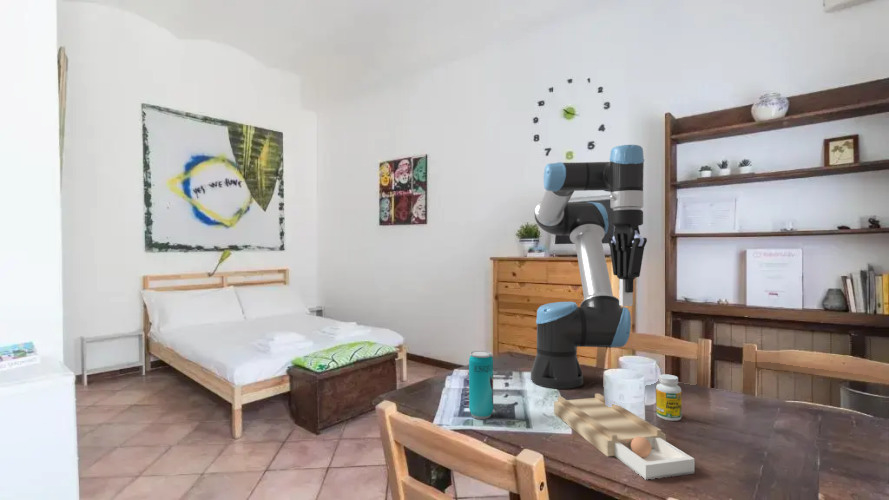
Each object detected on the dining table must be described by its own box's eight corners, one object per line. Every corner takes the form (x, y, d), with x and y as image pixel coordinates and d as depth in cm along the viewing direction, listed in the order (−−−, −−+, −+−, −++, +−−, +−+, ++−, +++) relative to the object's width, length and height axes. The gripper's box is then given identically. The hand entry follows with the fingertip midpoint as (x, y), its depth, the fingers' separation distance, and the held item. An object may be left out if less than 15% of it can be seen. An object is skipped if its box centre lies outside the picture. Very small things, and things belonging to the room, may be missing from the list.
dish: (611, 453, 86) (611, 440, 86) (655, 447, 88) (655, 435, 88) (645, 480, 76) (645, 465, 76) (694, 473, 78) (694, 458, 78)
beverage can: (494, 420, 102) (494, 356, 102) (469, 420, 102) (469, 356, 102) (492, 411, 108) (492, 350, 107) (468, 410, 108) (468, 350, 107)
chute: (554, 413, 106) (554, 397, 106) (602, 409, 109) (602, 393, 109) (607, 456, 84) (607, 436, 84) (665, 449, 87) (665, 429, 87)
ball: (641, 456, 81) (630, 459, 84) (658, 454, 82) (646, 457, 85) (635, 435, 83) (624, 439, 86) (651, 434, 84) (640, 437, 86)
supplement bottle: (671, 411, 107) (671, 372, 107) (686, 420, 101) (686, 379, 101) (651, 413, 106) (651, 373, 106) (665, 422, 101) (665, 380, 100)
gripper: (598, 211, 113) (598, 302, 114) (628, 207, 100) (627, 310, 101) (624, 211, 114) (624, 301, 115) (657, 207, 102) (656, 309, 102)
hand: (625, 305), depth 108 cm, fingers closed
